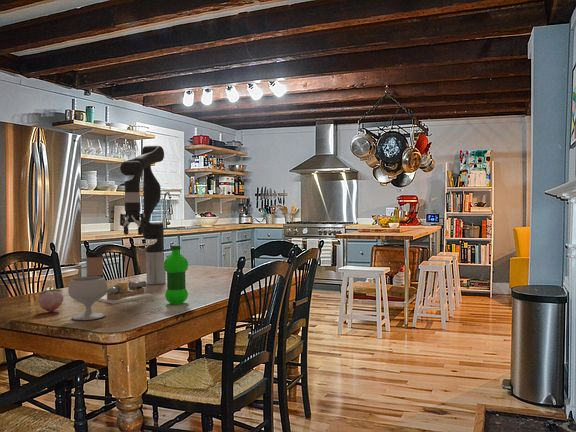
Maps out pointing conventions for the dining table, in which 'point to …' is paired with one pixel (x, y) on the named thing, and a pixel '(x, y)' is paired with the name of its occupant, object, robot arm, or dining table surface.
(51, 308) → the decorative fruit
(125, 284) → the coupler
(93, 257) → the travel mug
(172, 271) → the plastic bottle
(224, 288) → the dining table surface
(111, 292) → the grey rounded block
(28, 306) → the dining table surface
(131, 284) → the shaft
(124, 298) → the pale beige flat slab
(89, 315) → the chalice
